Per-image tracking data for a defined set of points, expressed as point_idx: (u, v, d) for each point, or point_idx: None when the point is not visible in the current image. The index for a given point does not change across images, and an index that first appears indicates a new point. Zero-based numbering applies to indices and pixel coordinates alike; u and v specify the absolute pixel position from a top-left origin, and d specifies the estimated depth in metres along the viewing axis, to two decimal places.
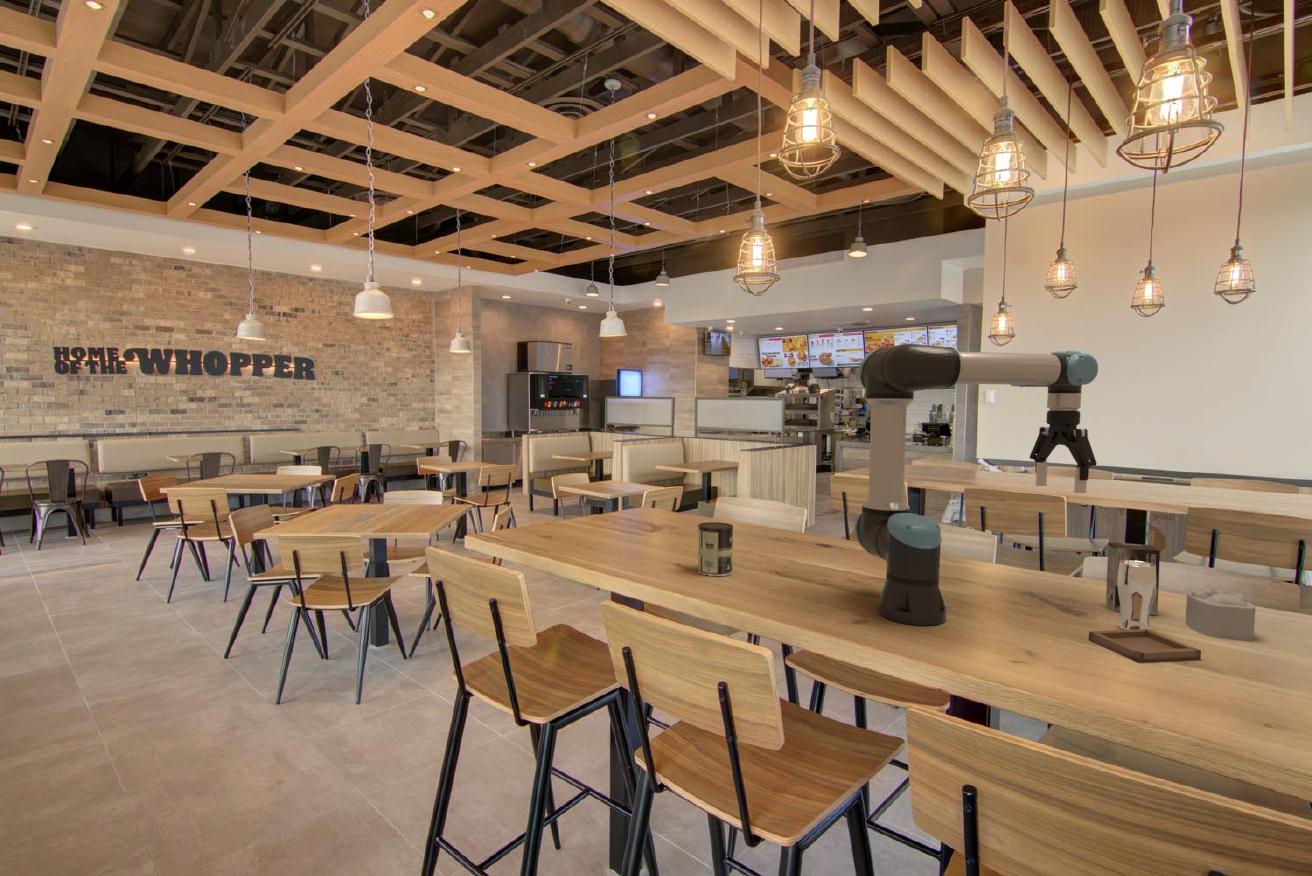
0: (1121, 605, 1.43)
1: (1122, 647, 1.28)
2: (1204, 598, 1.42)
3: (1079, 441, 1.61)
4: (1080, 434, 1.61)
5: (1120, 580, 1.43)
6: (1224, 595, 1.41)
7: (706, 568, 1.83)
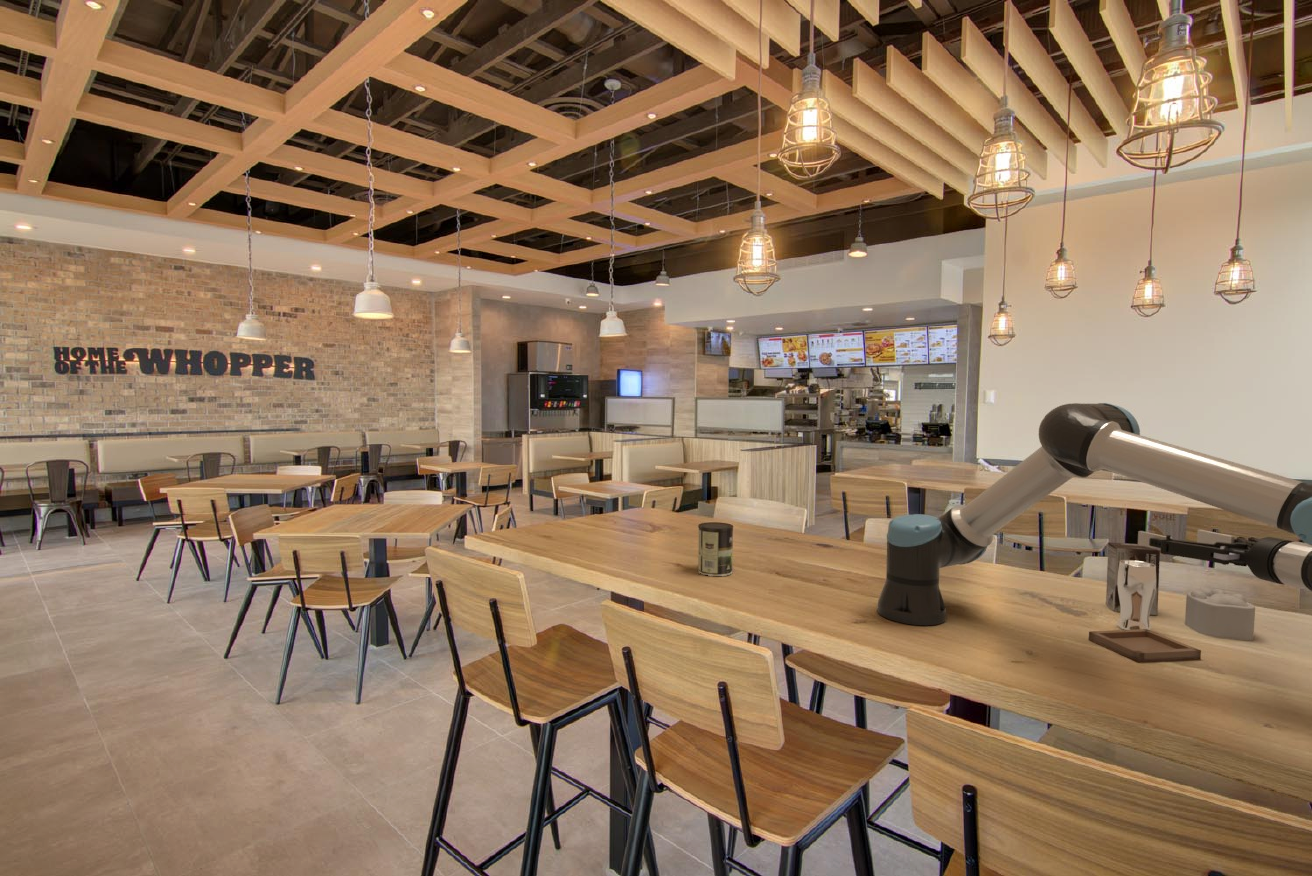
0: (1121, 605, 1.43)
1: (1122, 647, 1.28)
2: (1204, 598, 1.42)
3: (1205, 546, 1.12)
4: (1216, 550, 1.11)
5: (1120, 580, 1.43)
6: (1224, 595, 1.41)
7: (706, 568, 1.83)
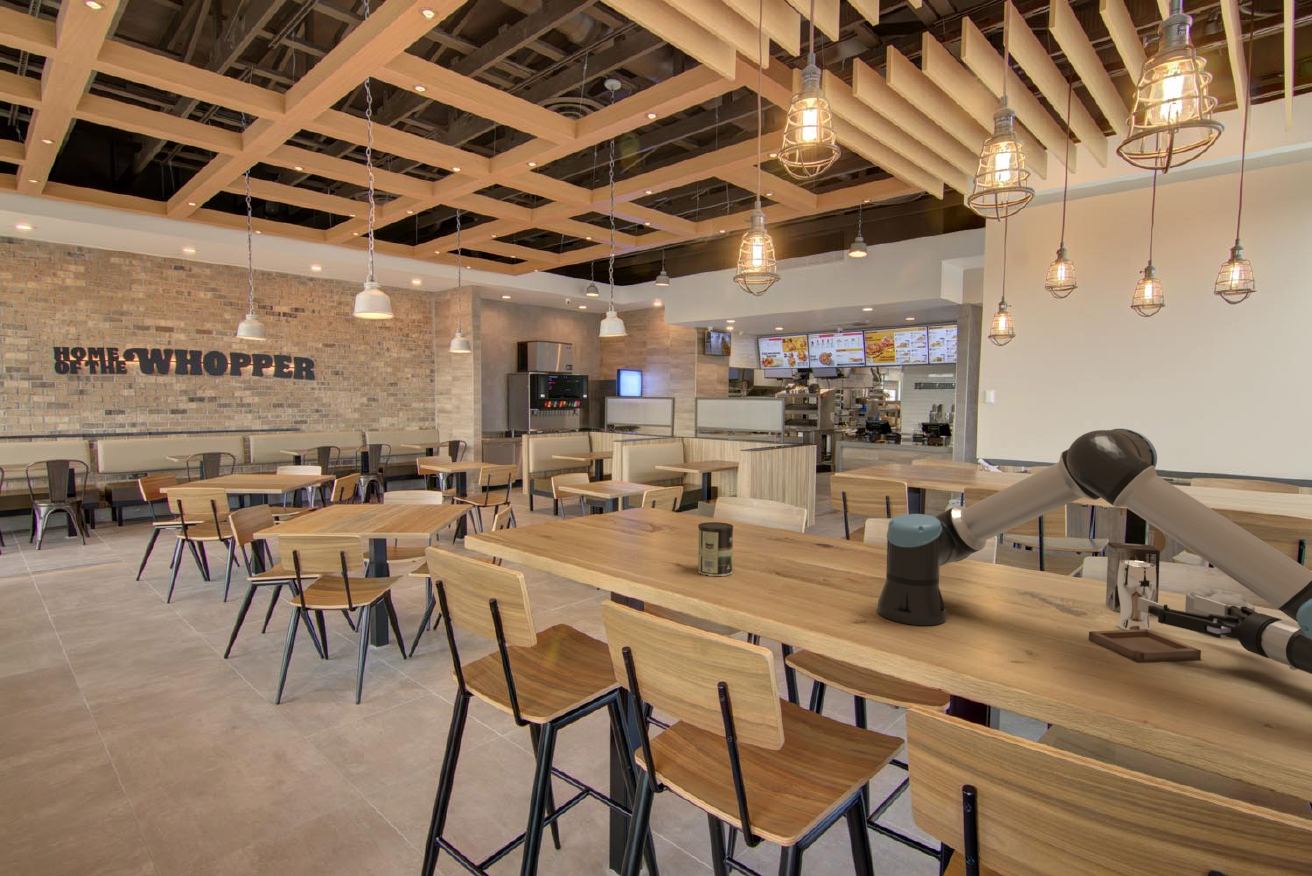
0: (1121, 605, 1.43)
1: (1122, 647, 1.28)
2: None
3: (1199, 619, 1.21)
4: (1209, 624, 1.20)
5: (1120, 580, 1.43)
6: (1223, 595, 1.41)
7: (706, 568, 1.83)
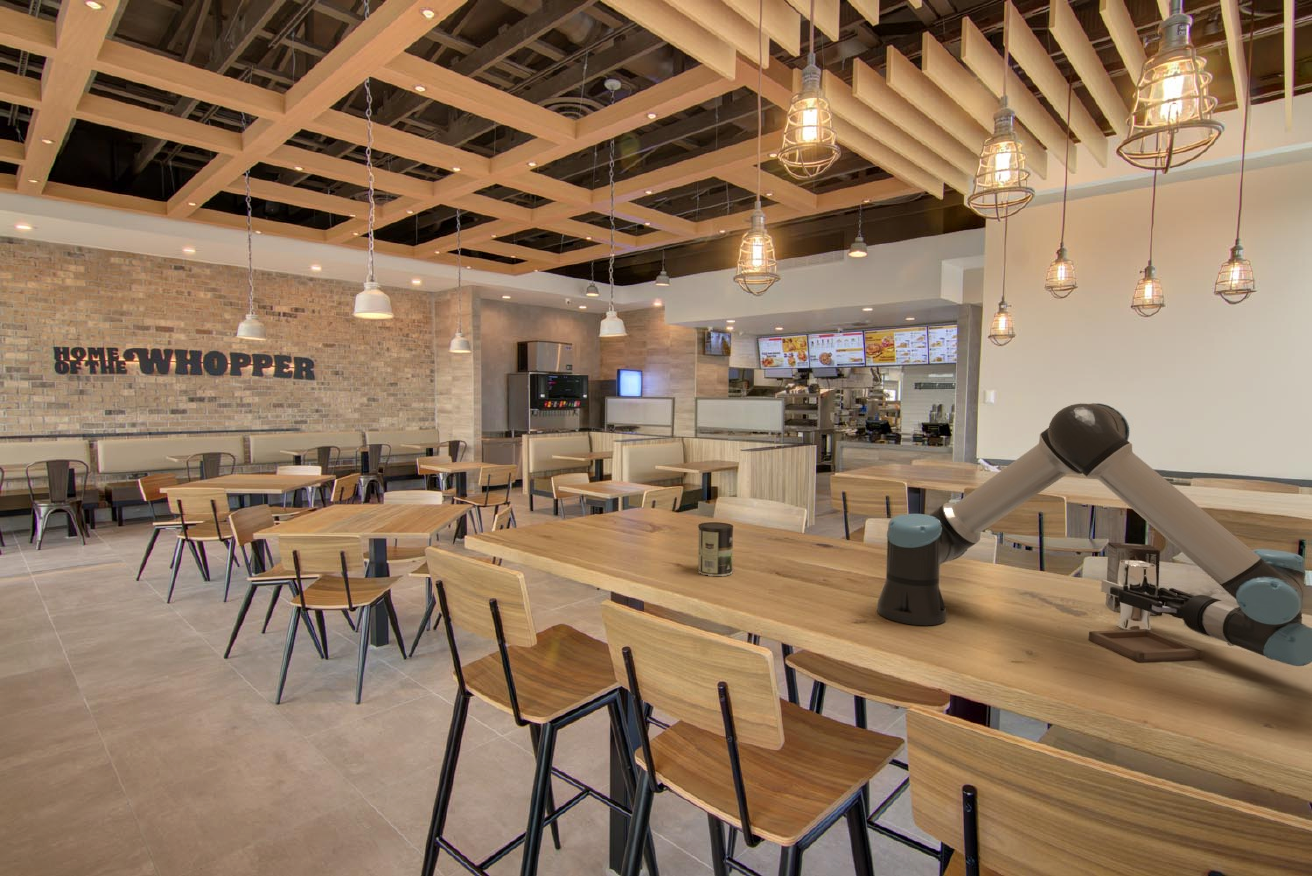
0: (1121, 605, 1.43)
1: (1122, 647, 1.28)
2: None
3: (1147, 599, 1.33)
4: (1152, 603, 1.31)
5: (1120, 580, 1.43)
6: (1223, 595, 1.41)
7: (706, 568, 1.83)
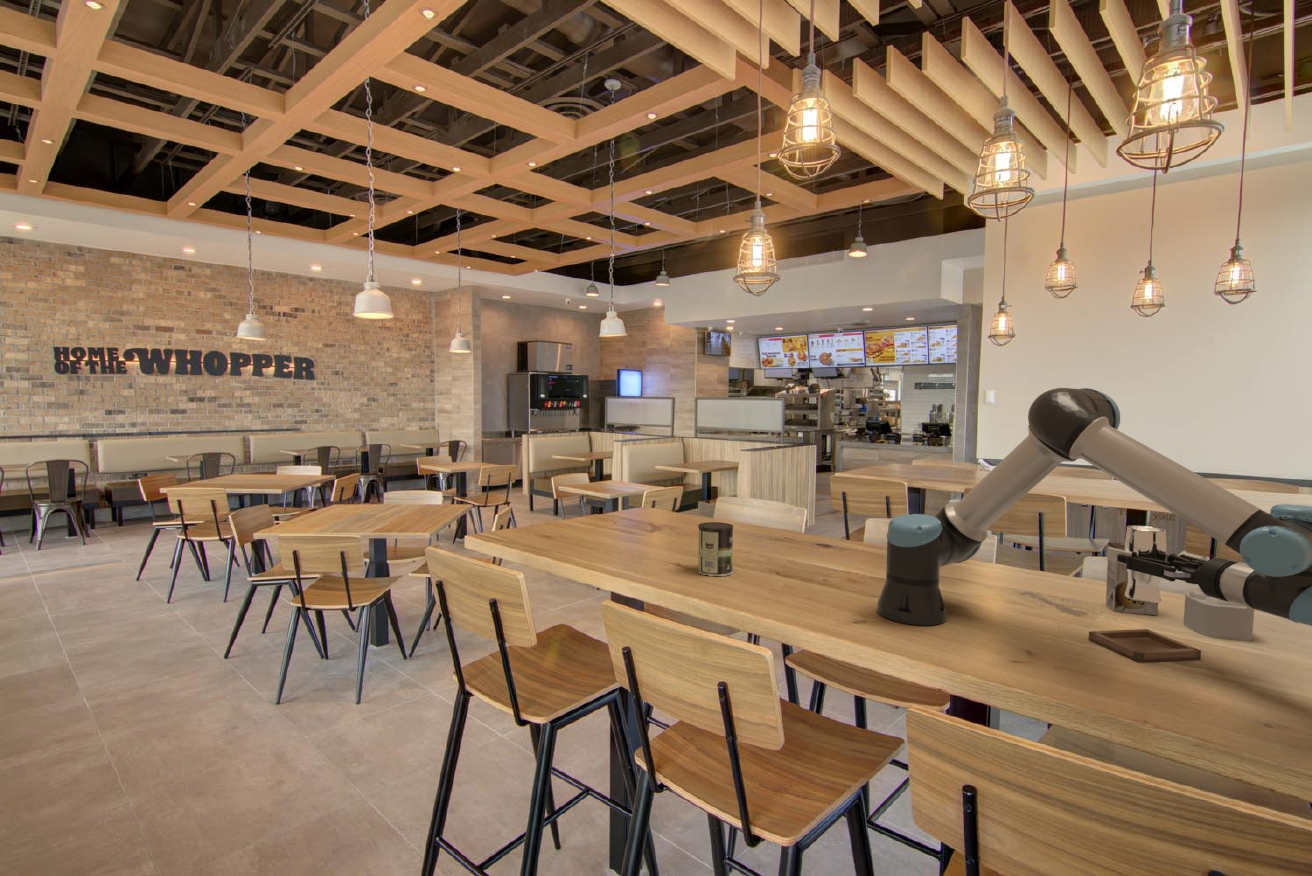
0: (1129, 573, 1.34)
1: (1122, 647, 1.28)
2: (1203, 598, 1.42)
3: (1158, 564, 1.24)
4: (1165, 568, 1.22)
5: (1128, 546, 1.34)
6: None
7: (706, 568, 1.83)
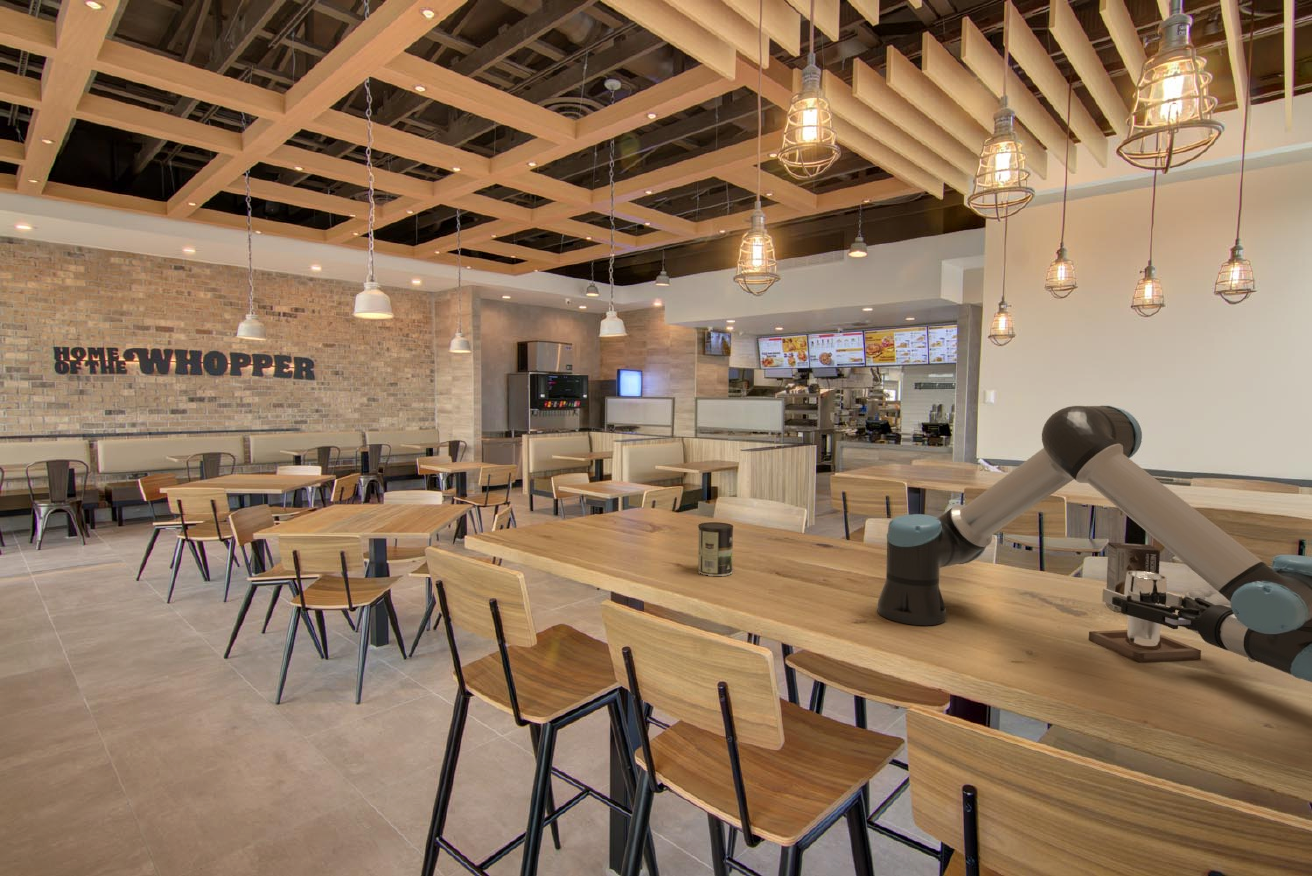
0: (1129, 620, 1.31)
1: (1122, 647, 1.28)
2: (1203, 598, 1.42)
3: (1158, 610, 1.20)
4: (1167, 615, 1.18)
5: (1127, 593, 1.30)
6: (1222, 595, 1.41)
7: (706, 568, 1.83)
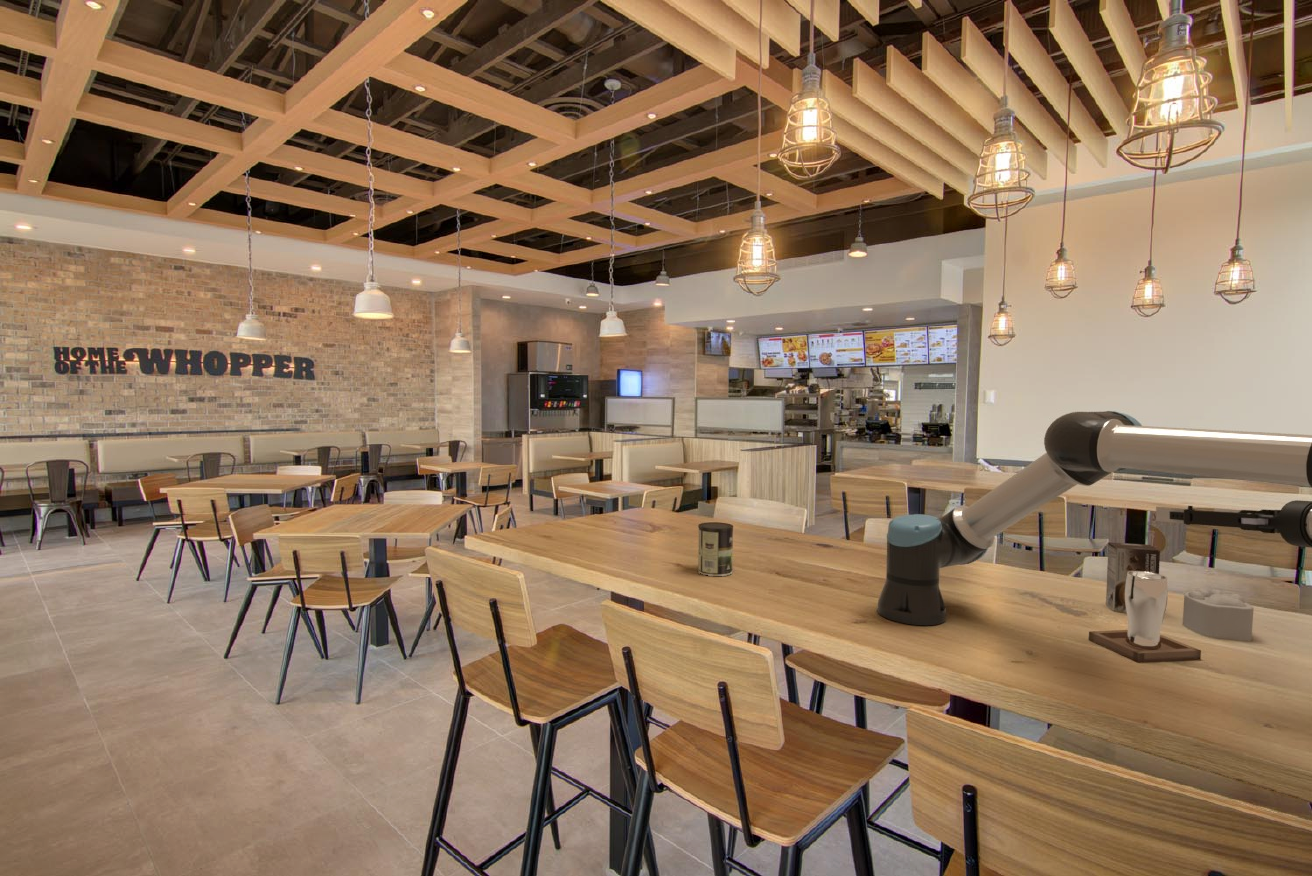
0: (1129, 620, 1.31)
1: (1122, 647, 1.28)
2: (1202, 598, 1.42)
3: (1231, 512, 1.07)
4: (1244, 515, 1.06)
5: (1128, 593, 1.31)
6: (1222, 596, 1.40)
7: (706, 568, 1.83)
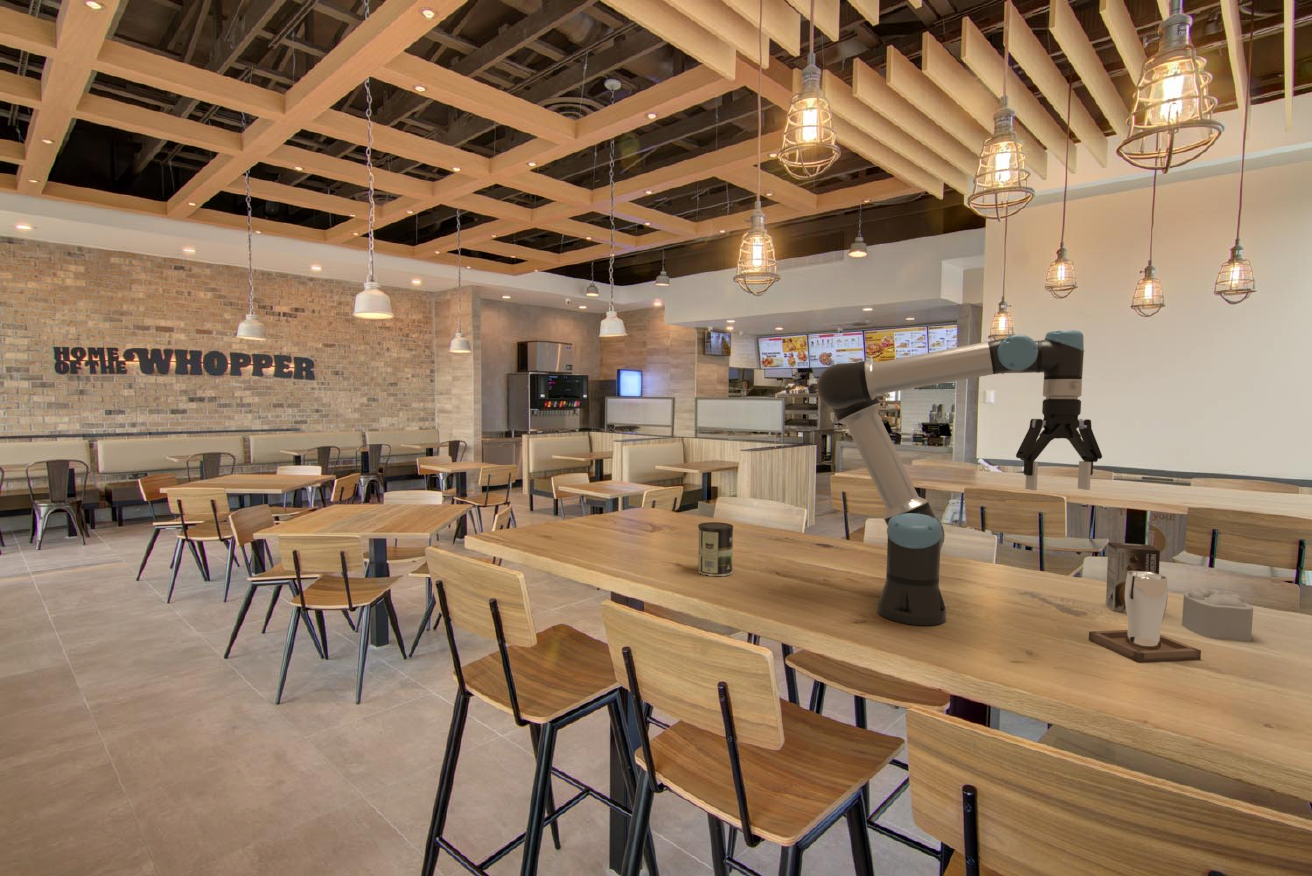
0: (1129, 620, 1.31)
1: (1122, 647, 1.28)
2: (1202, 599, 1.41)
3: None
4: (1030, 424, 1.46)
5: (1128, 593, 1.31)
6: (1221, 596, 1.40)
7: (706, 568, 1.83)
